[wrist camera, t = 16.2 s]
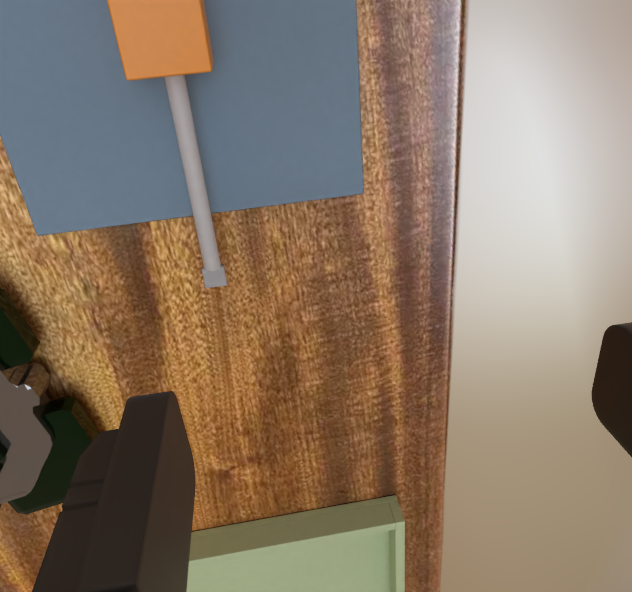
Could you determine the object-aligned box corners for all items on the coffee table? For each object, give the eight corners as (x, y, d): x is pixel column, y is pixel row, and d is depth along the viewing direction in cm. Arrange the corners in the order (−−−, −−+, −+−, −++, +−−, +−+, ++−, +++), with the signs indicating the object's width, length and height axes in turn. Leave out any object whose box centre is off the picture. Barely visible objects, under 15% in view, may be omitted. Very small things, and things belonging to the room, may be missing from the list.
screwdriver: (186, 274, 31) (181, 307, 28) (82, -175, 21) (55, -207, 18) (247, 266, 31) (250, 297, 28) (174, -181, 21) (164, -214, 18)
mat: (347, -171, 22) (349, -174, 22) (362, 191, 30) (363, 194, 30) (-99, -140, 21) (-105, -143, 21) (39, 233, 29) (37, 236, 29)
